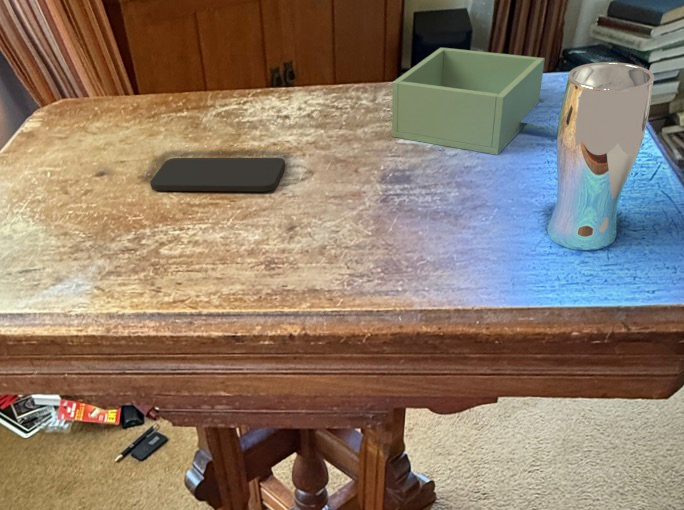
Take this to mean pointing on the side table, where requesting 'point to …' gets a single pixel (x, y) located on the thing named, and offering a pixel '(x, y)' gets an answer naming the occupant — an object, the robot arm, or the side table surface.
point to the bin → (466, 99)
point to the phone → (218, 174)
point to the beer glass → (597, 149)
